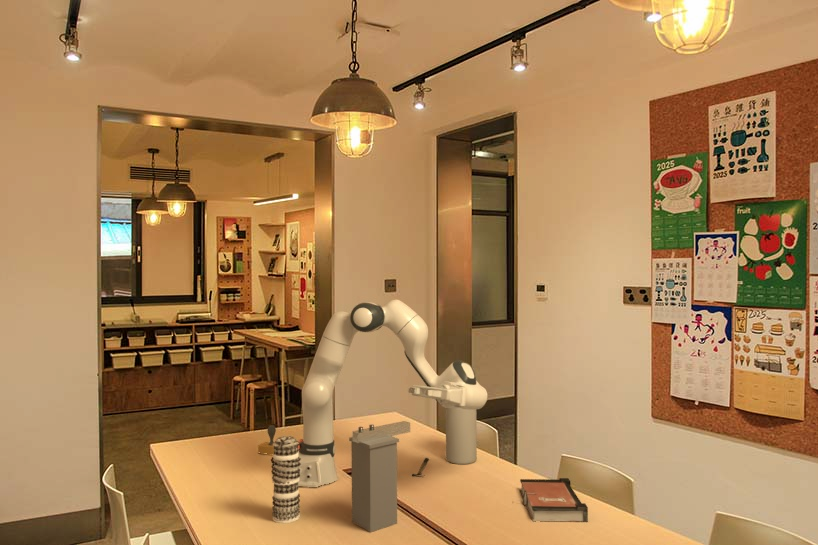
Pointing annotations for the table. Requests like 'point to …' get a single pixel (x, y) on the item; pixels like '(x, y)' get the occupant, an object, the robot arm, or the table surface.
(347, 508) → the table surface
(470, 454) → the cylinder vase
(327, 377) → the robot arm
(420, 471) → the tomahawk
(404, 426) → the brown wooden bar
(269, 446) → the rubber stamp
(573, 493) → the book
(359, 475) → the pedestal
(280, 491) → the decorative candle
